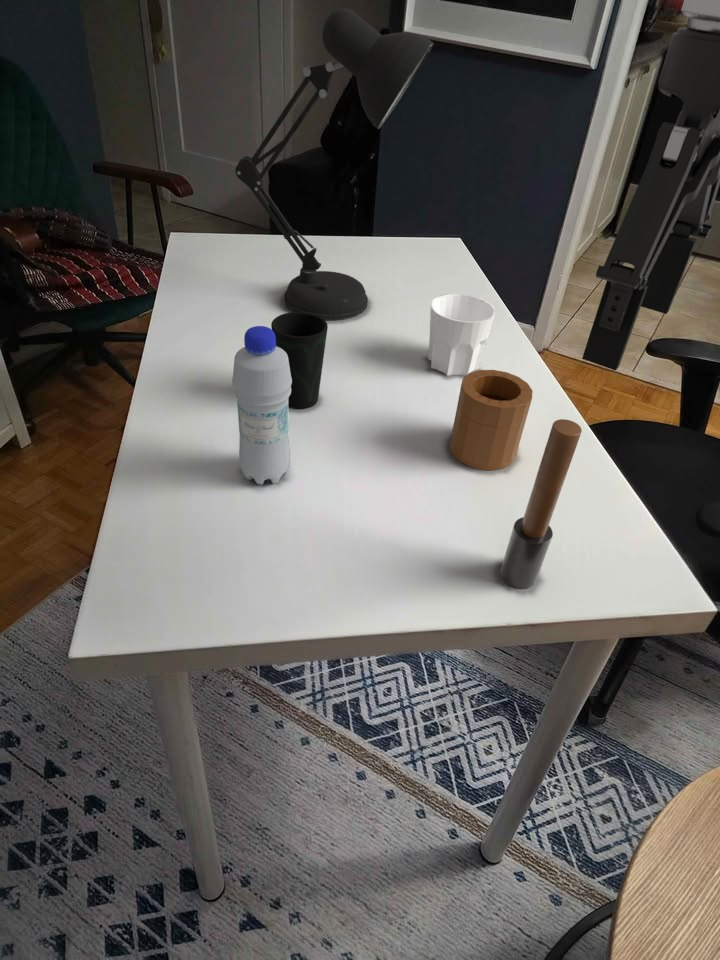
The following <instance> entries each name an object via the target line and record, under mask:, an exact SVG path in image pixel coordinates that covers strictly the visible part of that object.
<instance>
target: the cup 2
mask: <svg viewBox="0 0 720 960" xmlns="http://www.w3.org/2000/svg"><path fill="white" fill-rule="evenodd" d="M429 311H430V313H429V339H428V340H429V341H428V353H427V356H428V357H427V359H428V360H429V361H430V362H431V364H430V369H433V370H437V371H439V372H441V373H443V374H444V375H446V377H449V376H464V377H465V376H466V375H468V374H469V373H471V372H474V371H478V370H480V369H479V368H480V365H481V362H482V359H483V356H484V352H485V349H486V345H487V341H488V338H489V335H490V332H491V329H492V325H493V321H494V319H495V315H496V309H495V307H494V306H493V305H492V304H491V303H490V302H488V301H486V300H485V299H482V298H480V297H478V296H474V295H470V294H462V293H452V294H451V293H448V294H443V295H439V296H437V297H435V298H433V299H432V300H431V302H430V310H429Z"/></svg>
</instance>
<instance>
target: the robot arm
mask: <svg viewBox="0 0 720 960" xmlns="http://www.w3.org/2000/svg"><path fill="white" fill-rule="evenodd" d="M680 11H681V14H682V15H683V17H686V18H688V21H687V25H686V26H680V27H678V28H677V31H676V32H675V31H674V32H672V35H671V39H670V41H669V45H668V49H667V53H666V55H665V59H664V62H663V65H662V68H661V71H660V74H659V78H658V82H657V87H658V89H659V91H660V93H662V94H663V95H665V96H668V97H669V98H676V99H680V100H681V101H682V103H683V104H682V107H681V108H682V109H681V110H680V112H679V114H678V116H677V119H676V121H675V123H672V122H667V121H664V122H663V123H662V124H661V125H660V127H659V129H658V130H657V133H656V139H655V140H654V141H655V142H654V145H653V147H652V150H651V153H650V156H649V159H648V162H647V163H646V166H645V168H644V171H643V173H642V174H641V175H642V176H641V177H640V180H639V183H638V185H637V186H636V190H635V192H634V193H633V196H632V199H631V201H630V203H629V206H628V208H627V210H626V213H625V215H624V217H623V219H622V222H621V224H620V226H619V229H618V231H617V233H616V236H615V239H614V240H613V243H612V246H611V248H610V250H609V252H608V255H607V257H606V259H605V262H604V264H603V265H598V267H597V268H596V269H597V270H596V271H595V272H596V273H595V277H596V278H597V279H600V280H602V281H603V280H604V281H606V282H605V285H604V288H603V292H602V295H601V298H600V301H599V304H598V308H597V310H596V312H595V313H596V314H595V317H594V320H593V323H592V327H591V329H590V332H589V336H588V339H587V342H586V345H585V348H584V351H583V354H582V357H581V359H582V360H584V361H587V362H590V363H593V364H595V365H598V366H601V367H604V368H606V369H610V370H613V371H617V370H618V369H619V367H620V365H621V362H622V360H623V357H624V354H625V352H626V349H627V346H628V343H629V340H630V337H631V334H632V333H633V329H634V326H635V324H636V321H637V318H638V316H639V312H640V310H641V308H642V307H643V308H645V309H649V310H652V311H655V312H657V313H662V314H663V315H664V314H665V315H667V314H668V313H670V309H671V307H672V304H673V302H674V300H675V296H676V294H677V291H678V289H679V286H680V285H681V282H682V279H683V276H684V274H685V271H686V269H687V266H688V264H689V261H690V259H691V256H692V254H693V251H694V248H695V246H696V244H697V241H698V239H697V238H701V239H704V240H708V237H709V235H710V233H711V231H712V228H713V225H712V224H707V222H708V221H710V219H711V217H712V211H713V207H714V204H715V201H716V198H717V195H718V191H719V187H720V0H683V4H682V6H681V9H680ZM693 237H697V238H693ZM625 263H626V264H629V265H632V266H633V267H631V266H627V265H624V264H625Z"/></svg>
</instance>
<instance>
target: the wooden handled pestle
mask: <svg viewBox="0 0 720 960" xmlns="http://www.w3.org/2000/svg"><path fill="white" fill-rule="evenodd" d="M582 432H583V431H582V427H581V426H580V425H579V423H577V422H576V421H573V420H569V419H567V418H566V419H565V418H563V419H557V420H555V421H554V422H552V425H551V428H550V432H549V435H548V438H547V442H546V444H545V448H544V451H543V453H542V457H541V460H540V464H539V467H538V470H537V472H536V476H535V479H534V483H533V486H532V490H531V493H530V496H529V498H528V502H527V505H526V508H525V512H524V515H523V516H522V517H520V518H518V519H516V520H515V522H514V524H513V527H512V530H511V534H510V537H509V541H508V544H507V547H506V549H505V554H504V556H503V559H502V564H501V566H500V570H499V571H500V572H499V573H500V576H501V578H502V580H503V581H504V582H505V583H506V584H507V585H509V586H511V587H512V588H516V589H519V590H520V589H521V590H523V589H529V588H532V587H534V585H535V584H536V582H537V581H538V577H539V575H540V572H541V569H542V566H543V564H544V561H545V558H546V555H547V553H548V550H549V547H550V544H551V542H552V539H553V536H554V535H553V534H554V533H553V529H552V527H551V526H550V524H551V520H552V517H553V515H554V511H555V509H556V506H557V504H558V500H559V497H560V495H561V492H562V489H563V486H564V483H565V480H566V477H567V474H568V471H569V469H570V466H571V463H572V461H573V457H574V454H575V452H576V448H577V446H578V443H579V440H580V437H581V434H582Z"/></svg>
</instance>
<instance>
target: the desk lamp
mask: <svg viewBox="0 0 720 960" xmlns="http://www.w3.org/2000/svg"><path fill="white" fill-rule="evenodd" d="M321 40H322V43H323V47H324V49H325V50H326V52H327V53H328V54H329V55H330V56H331V57H332V58H333V59H335V60H336V61H337V62H338V63H335V62H334V61H331V60H330V61H329V62H326V63H324V64H320V65H315V66H310V65H308V66H305V67H304V68H303V69H302V74H303V76H304V78H303V80H302V81H301V83H300V84H299V86H298V88H297V89H296V90H295V92H294V94H293V95H292V96H291V98H290V99H289V101H288V103H287V104H286V106H285V108H283V111H282V112H280V115H279V116H278V118H277V119H276V121H275V122H274V123H273V125H272V127H271V128H270V129H269V132H268V133H267V134H266V135H265V138H264V139H263V140H262V142H261V143H260V145H259V147H258V148H257V149H256V151H255V152H254V154H253V156H248V155H247V156H243V157H241V159H240V160H239V161H238V163H237V164H236V166H235V170H234V171H235V175H236V177H237V178H238V179H239V180H240V181H241V182H242V183H243V184H244V185H246V186H247V187H248V188H249V189H250V190H251V192H252V193H253V194H254V196H255V197H256V199H257V200H258V201H259V203H260V204H261V206H262V208H263V209H264V210H265V211H266V213H267V214H268V215H269V217H270V219H271V220H272V222H274V224H275V225H276V227H277V228H278V230H279V231H280V232H281V234H282V236H283V238H284V239H285V240H286V241H287V242H288V244H289V245H290V247H291V248H292V250H293V251H294V253H295V254H296V255H297V257H298V259H300V261H301V266H302V267H301V268H300V270H299V275H297V276H295V277H293V278H292V279H291V280H290V282H289V283H288V285H287V288H286V290H285V292H284V299H283V300H284V301H283V302H284V304H285V306H286V307H287V309H288V310H289V311H290V312H306V313H311V314H314V315H317V316H319V317H321V318H323V319H324V320H325V321H343V320H348V319H352V318H355V317H357V316H359V315H361V314H363V313H364V312H365V311H366V310H367V308H368V305H369V302H368V301H369V299H368V298H369V297H368V295H367V293H366V289H365V287H364V285H363V283H362V282H361V281H360V280H358V279H356V278H355V277H353V276H351V275H348V274H345V273H342V272H337V271H328V270H319V269H320V268H321V267H322V263H321V262H319V261H318V259H317V258H316V257H315V256H316V253H317V249H318V248H317V247H315V246H314V245H313V244H311V242H309V241H308V240H307V239H306V237H304V236H303V235H302V234H300V232H299V231H297V230H295V229H293V228H292V226H291V225H290V223H289V221H288V220H287V219H286V217H285V216H284V214H283V213H282V212H281V211H280V209H279V208H278V206H277V205H276V203H275V201H273V199H272V198H271V196H270V194H269V193H268V192H267V190H266V189H265V187H264V180H263V179H264V178H265V176H266V175H267V173H268V172H269V171H270V169H271V168H272V166H273V165H274V163H275V162H276V161H277V159H278V158H279V156H280V155H281V153H282V152H283V150H284V149H285V147H286V146H287V145H288V143H289V142H290V140H291V139H292V137H293V136H294V135H295V133H296V132H297V130H298V129H299V127H300V126H301V125H302V123H303V121H304V120H305V119H306V117H307V116H308V114H309V113H310V112H311V110H312V109H313V107H314V106H315V104H316V102H317V101H318V99H319V98H321V99H325V98H326V97H328V96H329V88H330V85H331V80H332V77H333V74H334V73H333V72H334V71H336V70H338V69H341V68H343V67H344V68H345V69H346V70H347V71H348V72H349V73H351V74H352V75H353V76H354V77H355V78H356V79H355V80H356V84H357V91H358V95H359V99H360V103H361V107H362V109H363V110H364V113H365V115H366V116H367V118H368V120H369V121H370V122H371V123H372V125H373V126H374V127H375V128H376V129H377V130H380V128H381V127H383V124H384V123H385V122H386V120H387V119H388V118H389V117H390V115H391V113H392V112H393V111H394V109H395V108H396V106H397V104H398V103H399V102H400V100H401V99H402V97H403V96H404V94H405V92H406V91H407V89H408V87H409V86H410V85H411V83H412V81H413V80H414V78H415V77H416V75H417V73H418V72H419V70H420V69H421V67H422V65H423V64H424V62H425V60H426V59H427V58H428V55H429V54H430V52H431V50H432V48H433V46H434V42H433V41H432V40H430V39H429V38H427V37H425V36H423V35H421V34H418V33H414V32H408V31H406V32H393V33H387V34H386V33H385V34H381V33H380V32H379V31H377V30H376V28H374V27H373V26H372V25H370V24H369V23H368V22H366V21H365V20H364V19H363V18H362V17H361V16H359V15H358V14H357V13H356V12H355V11H353V10H352V9H349V8H346V7H344V8H343V7H342V8H337V9H335V10H333V11H332V12H331V13H330V14H328V16H327V18H326V19H325V21H324V24H323V27H322V31H321ZM309 83H311V84H312V85H313V87H314V88H315V89H316V91H315V92H314V94H313V96H312V97H311V98H310V100H309V102H308V103H307V104H306V105H305V107H304V108H303V110H302V111H301V113H300V114H299V116H298V117H297V119H296V120H295V122H293V123H294V124H293V125H292V126H291V127H290V129H289V131H288V132H287V134H286V135H285V137H284V138H283V139H282V140H281V141H280V142H278V143H277V144H276V145H274V146H273V147H272V148H270V149H268V151H266V152H265V153H263V152H264V151H265V149H266V147H267V146H268V144H269V143H270V141H271V140H272V139H273V137H274V136H275V134H276V133H277V131H278V129H279V128H280V126H281V125H282V123H283V122H284V121H285V119H286V118H287V116H288V115H289V113H290V112H291V110H292V108H294V105H295V104H296V102H297V101H298V100H299V98H300V97H301V95H302V93H303V92H304V90H305V89H306V87H307V86H308V84H309ZM271 155H272V156H271ZM270 156H271V157H270ZM269 157H270V159H269V160H268V162H266V165H265V166H264V167H263V169H262V170H261V171H259V169H258V167H257V166H258V165H260V163H262V162H263V161H264V160H266V159H267V158H269ZM302 241H304V243H306V245H308V246H309V247H310V248H311V250H310V251H309V250H308V249H307V247H306V246H305V245H304V243H303V242H302Z"/></svg>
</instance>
